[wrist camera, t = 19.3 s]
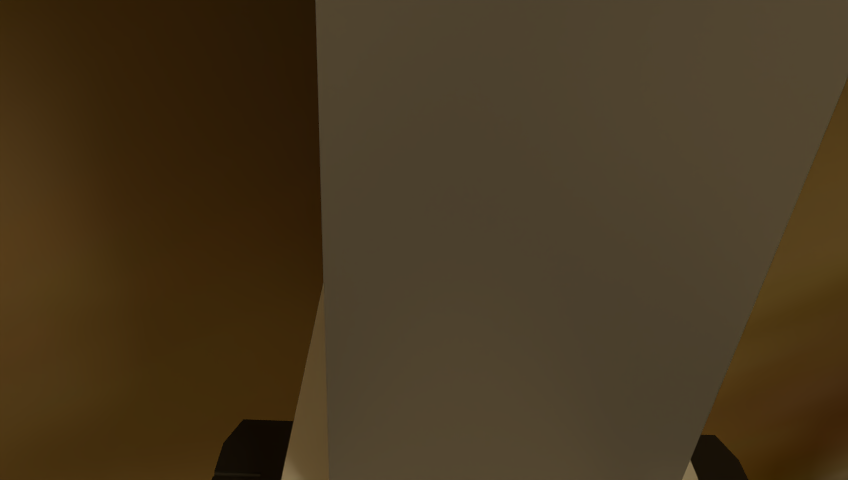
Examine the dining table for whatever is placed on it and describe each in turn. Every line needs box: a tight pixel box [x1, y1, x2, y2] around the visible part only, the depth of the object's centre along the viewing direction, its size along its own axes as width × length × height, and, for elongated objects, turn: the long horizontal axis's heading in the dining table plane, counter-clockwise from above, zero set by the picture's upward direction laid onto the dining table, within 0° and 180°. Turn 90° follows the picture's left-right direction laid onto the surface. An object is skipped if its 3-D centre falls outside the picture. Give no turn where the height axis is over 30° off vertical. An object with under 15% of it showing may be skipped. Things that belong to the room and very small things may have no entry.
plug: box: [315, 0, 848, 480], centre depth 9 cm, size 17×4×6 cm, turn 177°
